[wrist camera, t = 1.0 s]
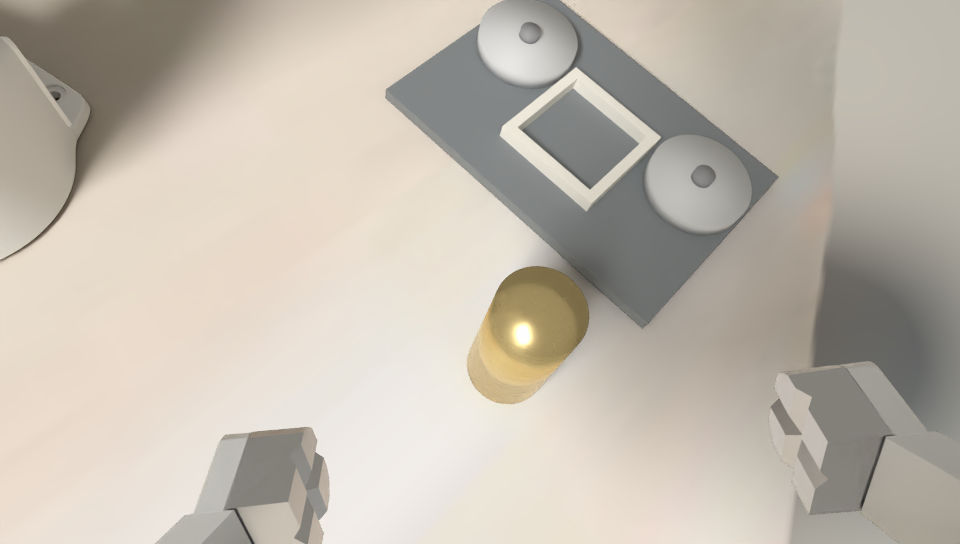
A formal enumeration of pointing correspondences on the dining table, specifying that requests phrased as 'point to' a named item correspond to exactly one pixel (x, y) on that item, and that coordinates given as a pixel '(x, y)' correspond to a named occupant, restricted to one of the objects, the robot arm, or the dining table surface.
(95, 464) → the dining table surface
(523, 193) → the grey holder tray
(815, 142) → the dining table surface
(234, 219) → the dining table surface
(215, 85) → the dining table surface
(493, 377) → the brushed brass cylinder
